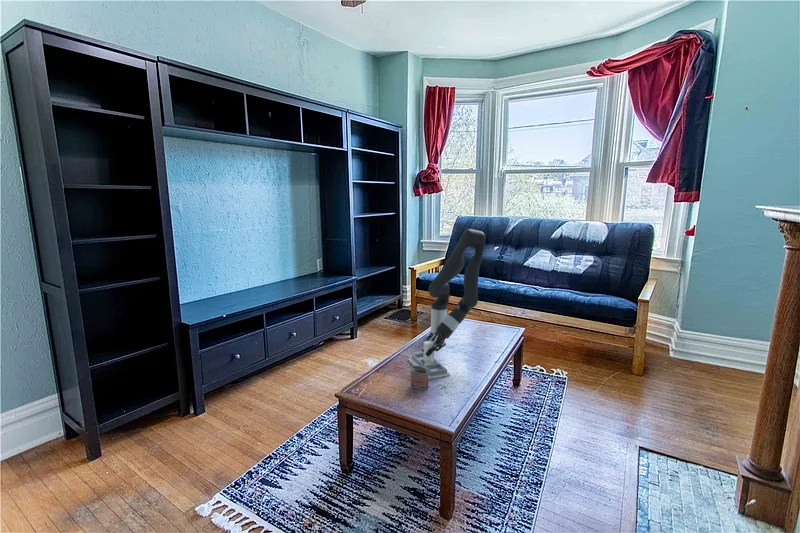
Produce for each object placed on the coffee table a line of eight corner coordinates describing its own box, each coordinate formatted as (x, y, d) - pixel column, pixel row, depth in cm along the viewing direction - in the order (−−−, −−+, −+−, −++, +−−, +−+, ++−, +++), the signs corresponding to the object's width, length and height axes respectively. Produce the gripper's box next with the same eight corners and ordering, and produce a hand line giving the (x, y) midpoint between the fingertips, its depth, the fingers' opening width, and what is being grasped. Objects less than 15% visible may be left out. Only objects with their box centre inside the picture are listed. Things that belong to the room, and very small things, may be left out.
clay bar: (423, 361, 189) (423, 341, 187) (430, 359, 191) (431, 340, 189) (426, 363, 186) (426, 344, 184) (433, 362, 188) (434, 343, 186)
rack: (408, 360, 197) (408, 354, 196) (429, 356, 201) (429, 351, 201) (427, 379, 177) (427, 373, 176) (450, 375, 181) (450, 368, 181)
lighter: (429, 386, 170) (429, 365, 169) (427, 390, 167) (427, 368, 165) (411, 383, 173) (412, 362, 171) (409, 387, 170) (409, 366, 168)
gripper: (436, 317, 194) (414, 344, 192) (450, 326, 181) (426, 355, 179) (445, 326, 197) (423, 352, 195) (459, 335, 184) (436, 364, 182)
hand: (425, 353), depth 187 cm, fingers closed on clay bar, 3 cm apart
